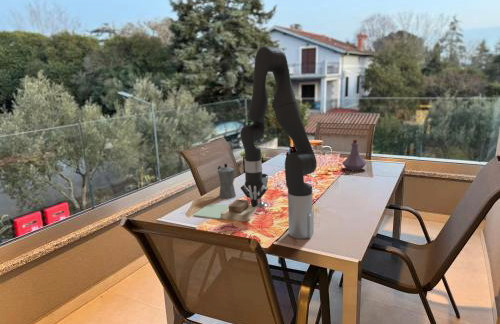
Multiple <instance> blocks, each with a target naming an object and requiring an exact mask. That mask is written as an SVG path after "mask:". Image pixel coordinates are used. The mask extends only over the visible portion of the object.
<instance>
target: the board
mask: <svg viewBox="0 0 500 324" xmlns="http://www.w3.org/2000/svg"><path fill="white" fill-rule="evenodd" d="M257 209H258V207H257V206H256V207H252V206H251V204H249V207H248V208H247V209H246V210H244V211H243V212H242V213H232V212H229V207H228V208H227V209H226V210H224V211H223V212H222V213H221V219H222V220H227V221H228V220H231V221H236V222H247V220H249V219H250V218H251V217H252V216H253V215H254V214H255V213H256V212H257ZM221 219H220V220H221Z"/></svg>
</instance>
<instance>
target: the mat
mask: <svg viewBox="0 0 500 324" xmlns="http://www.w3.org/2000/svg"><path fill="white" fill-rule="evenodd" d="M229 205H230V204H222V203H221V204H220V203H219V204H218V203H209V204H208V203H207V205H205V206H204V207H202V208H201V209H200V210H198V211H196V212H195V213H194V214H192V215H193V217H199V218H204V219H205V218H206V219H212V220H213V219H214V220H221V213H222V212H223V211H224V210H226V209H227V208H228V207H229Z"/></svg>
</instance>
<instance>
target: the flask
mask: <svg viewBox="0 0 500 324" xmlns="http://www.w3.org/2000/svg"><path fill="white" fill-rule="evenodd" d="M350 145H351V151H350V154H349V155H348V157H346V159H345V160H344V161H343V162H341V164H342V165H343V166H344V167H345V169H346V170H348V171H350V170H354V171H353V172H358V171H357V170H360V171H361V170H363V168H364V167H365V166H366V165H367V163H368V162H367V161H366V160H365V159H364V158H363V157H362V156H361V154H360V152H359V143H358V139H353V140H352V143H351V144H350Z"/></svg>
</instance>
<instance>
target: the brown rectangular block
mask: <svg viewBox="0 0 500 324" xmlns="http://www.w3.org/2000/svg"><path fill="white" fill-rule="evenodd" d="M249 203H250V202H249V200H246V199H235V200H234V201H233V202H232V203H230V204H228V205H229V212H232V213H242V212H243V211H244V210H246V209H247V208H248V207H249V205H250V204H249Z"/></svg>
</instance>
